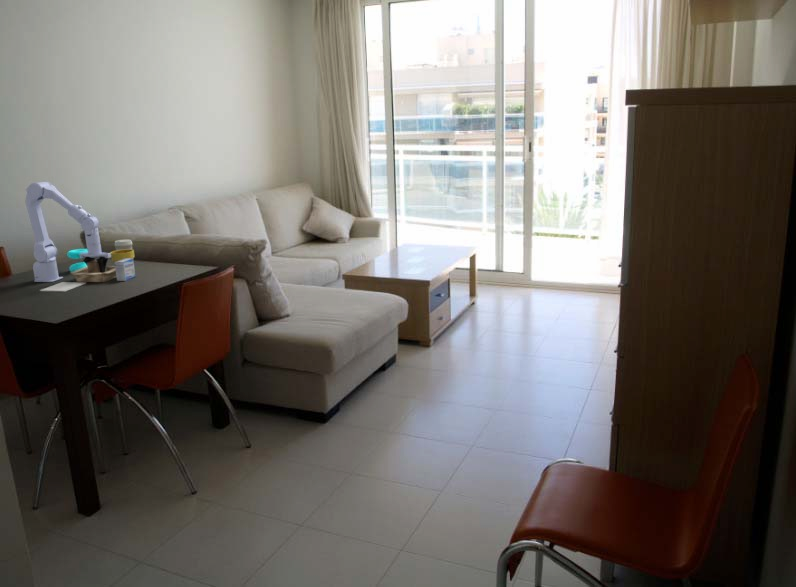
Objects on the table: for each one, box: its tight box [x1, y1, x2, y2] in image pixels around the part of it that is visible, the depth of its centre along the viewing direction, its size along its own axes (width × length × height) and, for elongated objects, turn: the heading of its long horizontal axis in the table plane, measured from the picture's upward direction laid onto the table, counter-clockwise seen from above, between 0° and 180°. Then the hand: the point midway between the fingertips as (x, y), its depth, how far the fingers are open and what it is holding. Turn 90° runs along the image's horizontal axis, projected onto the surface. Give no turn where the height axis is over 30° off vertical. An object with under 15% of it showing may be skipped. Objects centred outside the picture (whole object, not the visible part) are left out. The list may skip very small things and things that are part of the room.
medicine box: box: [114, 258, 136, 282], centre depth 304 cm, size 8×4×9 cm, turn 168°
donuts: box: [66, 248, 88, 272], centre depth 325 cm, size 10×10×10 cm
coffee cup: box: [114, 238, 133, 251], centre depth 335 cm, size 8×8×12 cm
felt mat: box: [39, 281, 87, 293], centre depth 294 cm, size 12×14×1 cm
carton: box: [69, 264, 117, 283], centre depth 308 cm, size 19×17×4 cm
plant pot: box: [110, 248, 135, 265], centre depth 320 cm, size 10×10×10 cm
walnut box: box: [87, 259, 107, 273], centre depth 307 cm, size 4×7×8 cm, turn 168°
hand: (98, 273), depth 308 cm, fingers closed on walnut box, 4 cm apart
